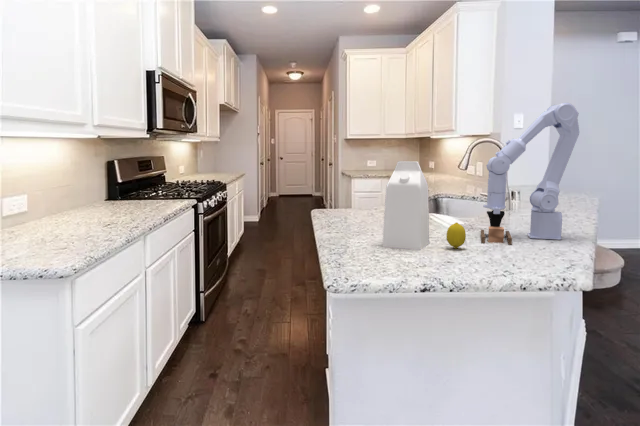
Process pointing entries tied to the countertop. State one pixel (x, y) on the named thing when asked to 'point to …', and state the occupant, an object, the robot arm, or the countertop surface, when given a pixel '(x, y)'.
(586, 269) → the countertop surface
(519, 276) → the countertop surface
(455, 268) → the countertop surface
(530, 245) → the countertop surface
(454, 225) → the lemon
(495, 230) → the block
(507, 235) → the channel
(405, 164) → the milk
